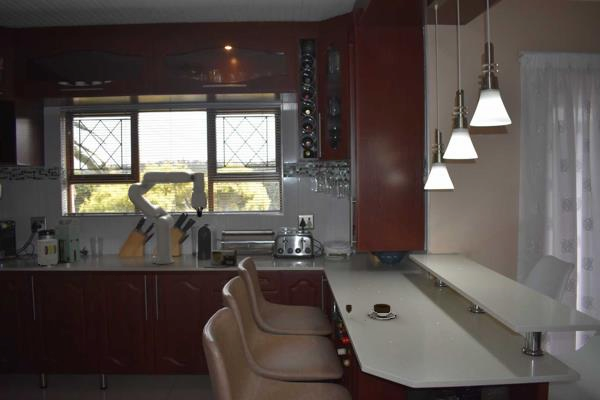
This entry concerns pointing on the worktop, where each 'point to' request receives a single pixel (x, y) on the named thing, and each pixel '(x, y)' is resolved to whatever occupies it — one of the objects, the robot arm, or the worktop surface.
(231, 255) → the coffee box
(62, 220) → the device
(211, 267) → the mat
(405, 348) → the worktop surface
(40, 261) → the supplement box
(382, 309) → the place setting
